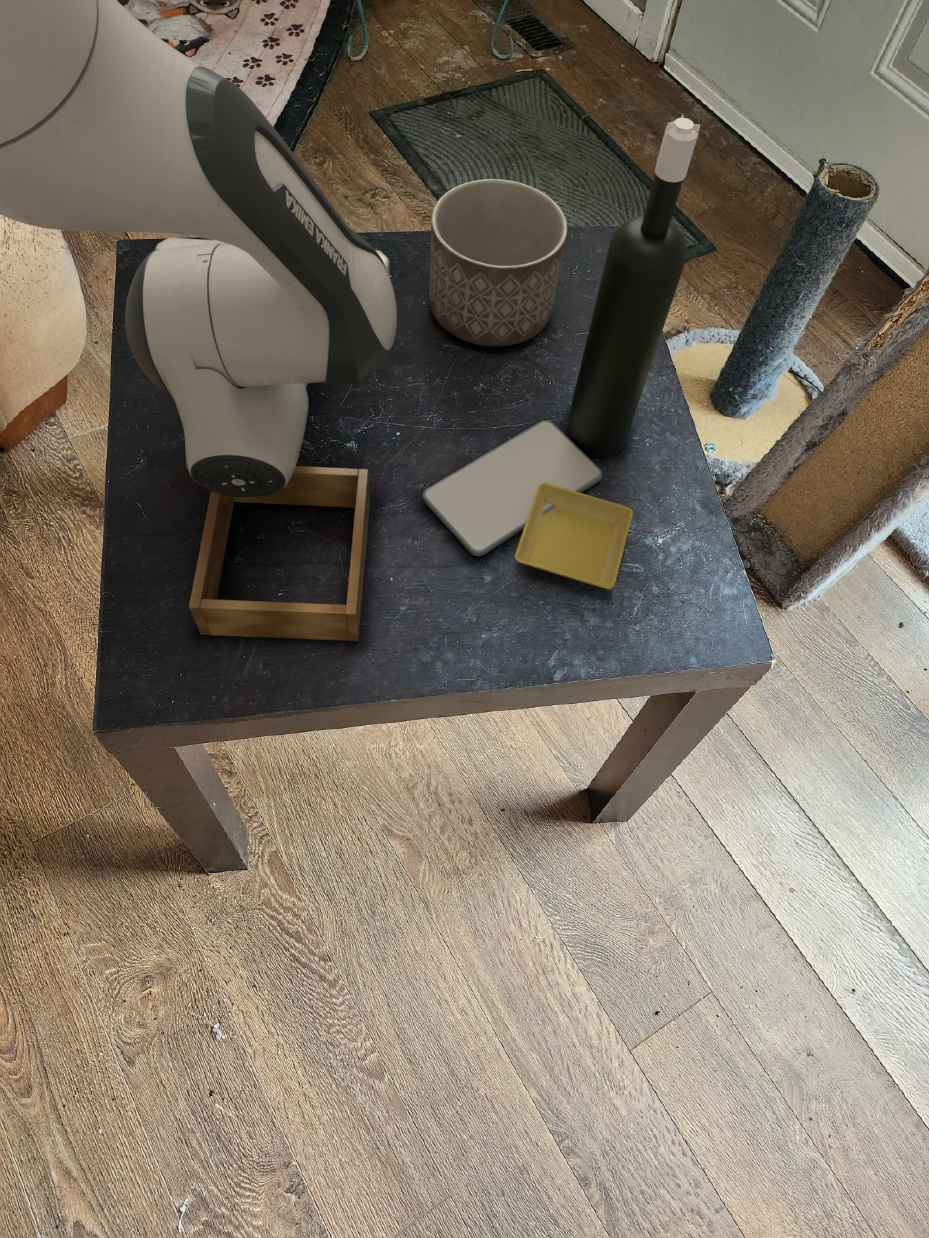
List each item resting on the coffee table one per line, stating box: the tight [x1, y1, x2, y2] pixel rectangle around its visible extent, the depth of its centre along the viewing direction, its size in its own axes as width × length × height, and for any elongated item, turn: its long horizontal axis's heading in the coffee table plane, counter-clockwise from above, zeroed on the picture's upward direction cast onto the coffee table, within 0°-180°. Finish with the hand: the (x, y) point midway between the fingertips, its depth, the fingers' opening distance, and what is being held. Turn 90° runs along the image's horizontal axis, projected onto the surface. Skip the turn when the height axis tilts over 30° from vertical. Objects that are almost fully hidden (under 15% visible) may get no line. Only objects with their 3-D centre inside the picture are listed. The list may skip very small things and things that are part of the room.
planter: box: [428, 178, 568, 347], centre depth 85 cm, size 13×13×10 cm
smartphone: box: [422, 420, 603, 557], centre depth 78 cm, size 8×1×15 cm
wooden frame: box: [188, 465, 371, 642], centre depth 71 cm, size 13×14×4 cm
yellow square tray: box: [514, 482, 634, 590], centre depth 75 cm, size 9×9×2 cm
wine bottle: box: [565, 113, 701, 459], centre depth 69 cm, size 6×6×30 cm
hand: (283, 224), depth 80 cm, fingers closed on ink box, 6 cm apart
